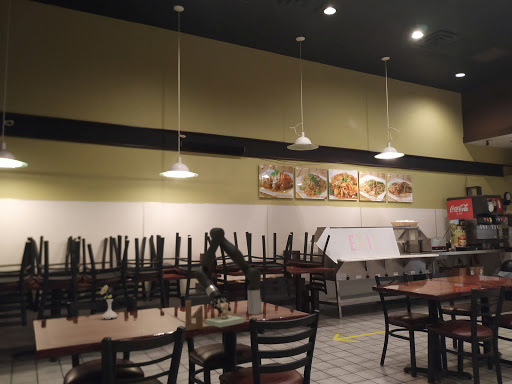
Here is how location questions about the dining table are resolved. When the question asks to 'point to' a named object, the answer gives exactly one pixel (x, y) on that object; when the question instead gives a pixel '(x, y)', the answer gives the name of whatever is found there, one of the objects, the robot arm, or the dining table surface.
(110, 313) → the flower in vase
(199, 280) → the robot arm
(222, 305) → the beech peg
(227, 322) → the sage board
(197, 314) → the brown wooden bracket
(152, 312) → the dining table surface
